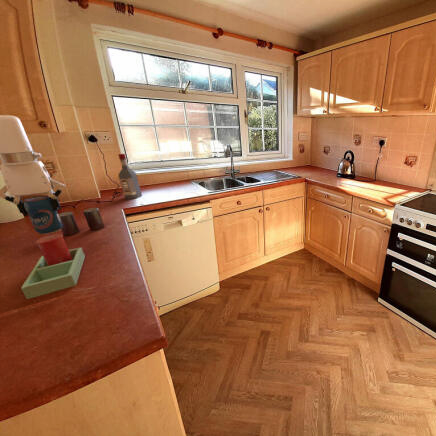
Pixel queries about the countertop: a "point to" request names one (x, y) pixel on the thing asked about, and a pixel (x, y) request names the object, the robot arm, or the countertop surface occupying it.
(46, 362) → the countertop surface
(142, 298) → the countertop surface
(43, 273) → the can rack
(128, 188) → the liquor
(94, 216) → the grey tin right
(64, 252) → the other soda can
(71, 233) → the grey tin left
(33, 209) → the soda can
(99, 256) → the countertop surface
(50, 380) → the countertop surface
